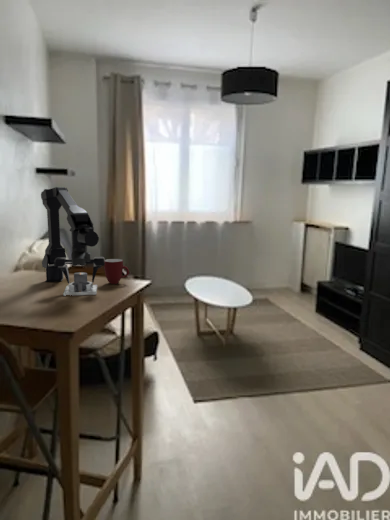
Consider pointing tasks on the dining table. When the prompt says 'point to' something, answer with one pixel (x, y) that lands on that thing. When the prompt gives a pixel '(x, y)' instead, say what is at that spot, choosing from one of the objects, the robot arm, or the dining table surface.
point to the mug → (114, 270)
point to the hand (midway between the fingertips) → (80, 283)
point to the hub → (71, 290)
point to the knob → (80, 280)
